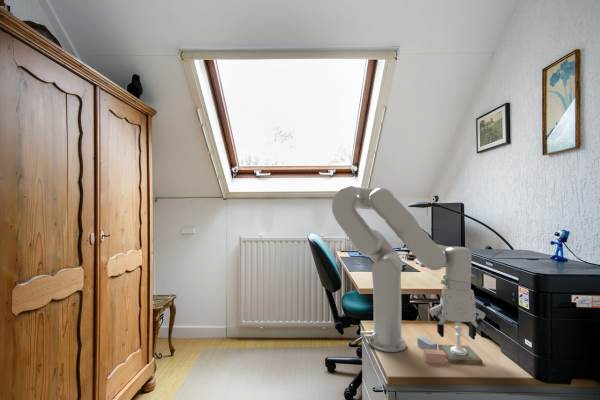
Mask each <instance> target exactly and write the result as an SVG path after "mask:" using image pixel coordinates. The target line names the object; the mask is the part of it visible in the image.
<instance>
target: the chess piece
mask: <svg viewBox="0 0 600 400" xmlns="http://www.w3.org/2000/svg"><path fill="white" fill-rule="evenodd" d="M454 328H455V333H454V335H455V336H456V339H455V340H456V342H455V344H454V345H455V346H453V347H451V349H450V351H451V352H452V353H454V354H457V355H466V354H467V350H466V349H464V348H463V347H462V346H463V345H462V342H461V337H462V336H463V334H462V333H461V332H462V329H463V328H462V323H461V322H460V321H456V322H455V327H454Z"/></svg>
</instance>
